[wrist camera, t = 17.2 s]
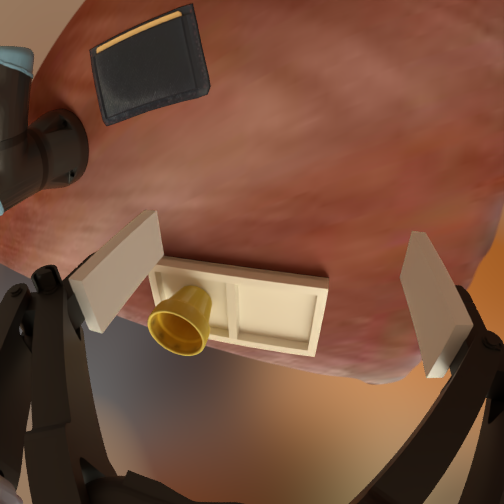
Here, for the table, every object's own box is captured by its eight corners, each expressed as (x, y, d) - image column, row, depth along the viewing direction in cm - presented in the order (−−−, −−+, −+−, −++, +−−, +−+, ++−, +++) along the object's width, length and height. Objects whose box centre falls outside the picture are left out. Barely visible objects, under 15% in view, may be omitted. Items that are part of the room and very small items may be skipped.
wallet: (99, 128, 42) (84, 47, 35) (106, 126, 44) (91, 47, 37) (209, 98, 37) (192, 0, 30) (214, 97, 38) (197, 3, 31)
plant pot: (223, 282, 52) (203, 321, 44) (222, 325, 58) (205, 363, 50) (168, 270, 54) (142, 304, 46) (173, 312, 59) (151, 346, 51)
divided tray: (167, 318, 62) (161, 328, 60) (153, 254, 54) (145, 262, 52) (315, 345, 56) (314, 356, 54) (328, 277, 48) (328, 289, 46)
